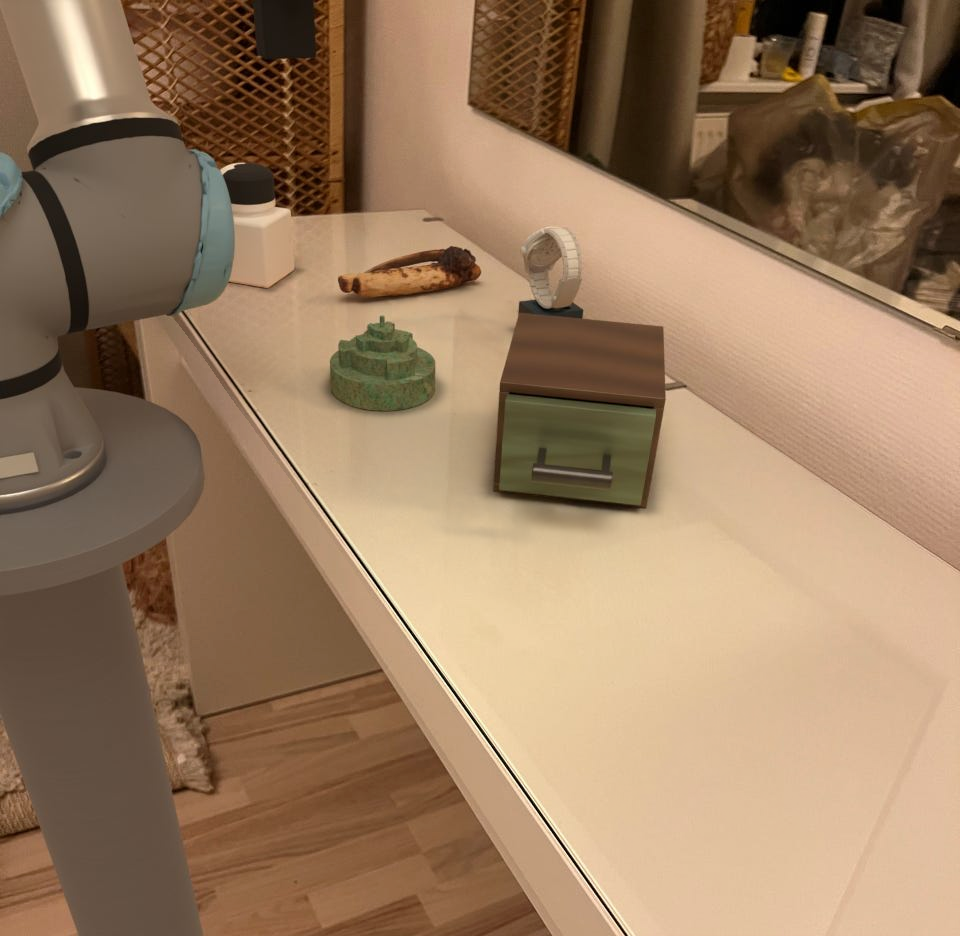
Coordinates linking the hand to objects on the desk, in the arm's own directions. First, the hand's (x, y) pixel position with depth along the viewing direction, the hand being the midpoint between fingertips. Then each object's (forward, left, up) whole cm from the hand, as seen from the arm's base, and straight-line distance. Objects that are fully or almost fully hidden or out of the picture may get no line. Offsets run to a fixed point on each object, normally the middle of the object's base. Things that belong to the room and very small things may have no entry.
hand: (286, 55), depth 51 cm
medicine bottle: (-60, +14, -33) cm, 70 cm away
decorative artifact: (-26, +16, -33) cm, 45 cm away
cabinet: (-7, +26, -32) cm, 42 cm away
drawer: (-4, +24, -32) cm, 40 cm away
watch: (-32, +38, -33) cm, 59 cm away
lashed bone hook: (-50, +29, -33) cm, 66 cm away
